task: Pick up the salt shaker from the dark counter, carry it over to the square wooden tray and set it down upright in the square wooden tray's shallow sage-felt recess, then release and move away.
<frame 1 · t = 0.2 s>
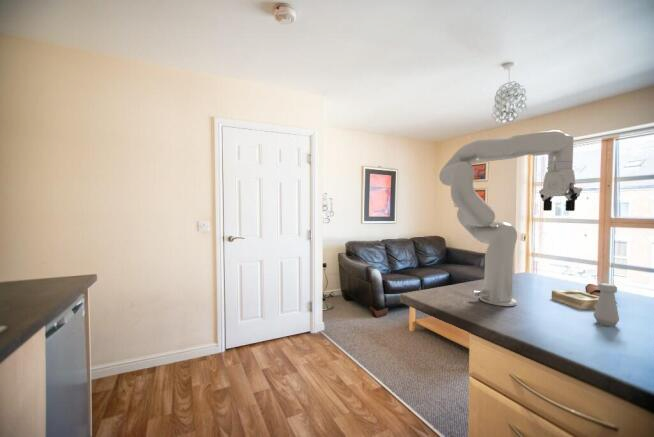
hand: (558, 210, 111), 36 cm above the worktop, tool pointing down, fingers open, 9 cm apart
salt shaker: (605, 324, 90), on the worktop
square wooden tray: (579, 303, 109), on the worktop
sunglasses case: (600, 298, 115), on the worktop, touching square wooden tray
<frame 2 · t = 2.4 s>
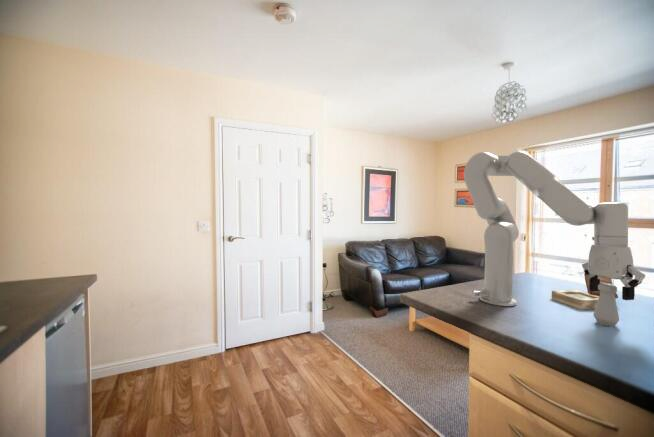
hand: (610, 295, 89), 10 cm above the worktop, tool pointing down, fingers open, 9 cm apart
sunglasses case: (601, 288, 115), point 5 cm above the worktop, touching square wooden tray
everything else where it was.
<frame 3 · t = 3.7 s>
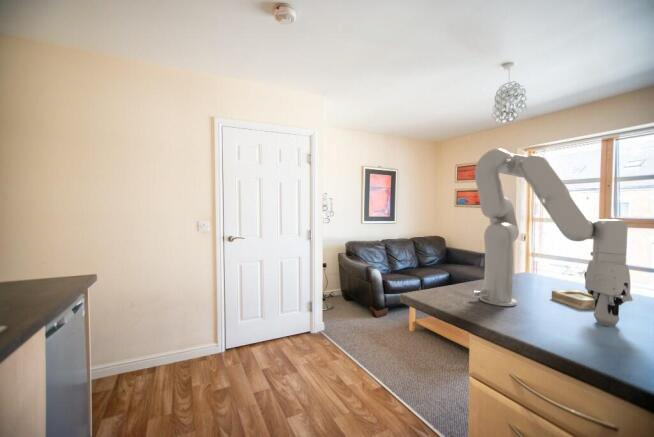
hand: (606, 314, 90), 3 cm above the worktop, tool pointing down, fingers closed on salt shaker, 3 cm apart
salt shaker: (605, 324, 90), on the worktop, touching gripper
everything else where it was.
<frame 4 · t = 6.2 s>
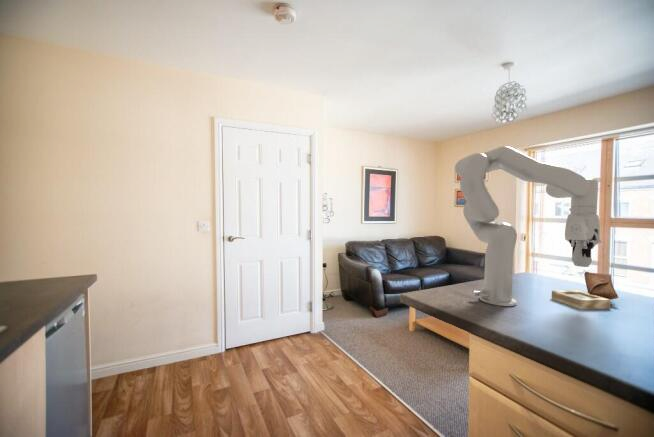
hand: (581, 257, 109), 18 cm above the worktop, tool pointing down, fingers closed on salt shaker, 3 cm apart
salt shaker: (581, 266, 109), point 15 cm above the worktop, touching gripper
everything else where it was.
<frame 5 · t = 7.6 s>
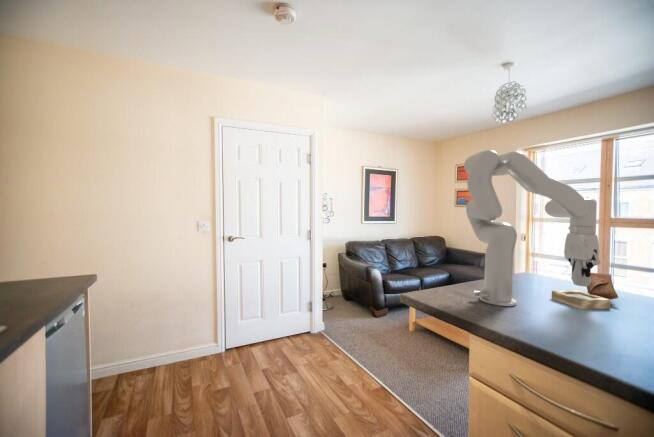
hand: (580, 276, 109), 10 cm above the worktop, tool pointing down, fingers closed on salt shaker, 3 cm apart
salt shaker: (580, 285, 109), point 7 cm above the worktop, touching gripper
everything else where it was.
when the fingers open (7 cm above the worktop, at t = 8.6 s): salt shaker stays where it is, resting on square wooden tray.
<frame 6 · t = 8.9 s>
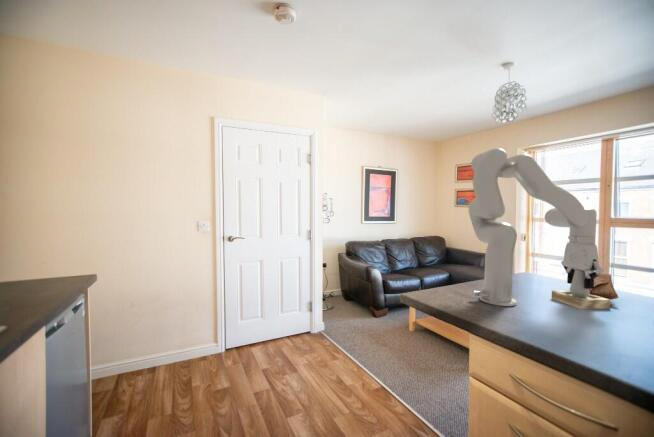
hand: (580, 285, 109), 7 cm above the worktop, tool pointing down, fingers open, 6 cm apart
salt shaker: (579, 297, 109), point 2 cm above the worktop, touching square wooden tray
everything else where it was.
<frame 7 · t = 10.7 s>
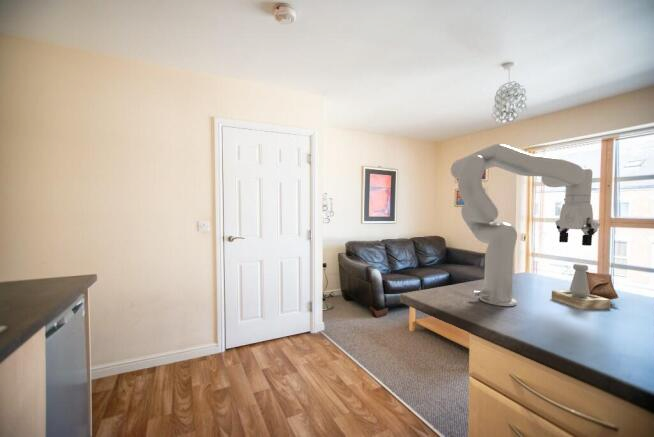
hand: (574, 243, 110), 23 cm above the worktop, tool pointing down, fingers open, 9 cm apart
nothing on the worktop moved.
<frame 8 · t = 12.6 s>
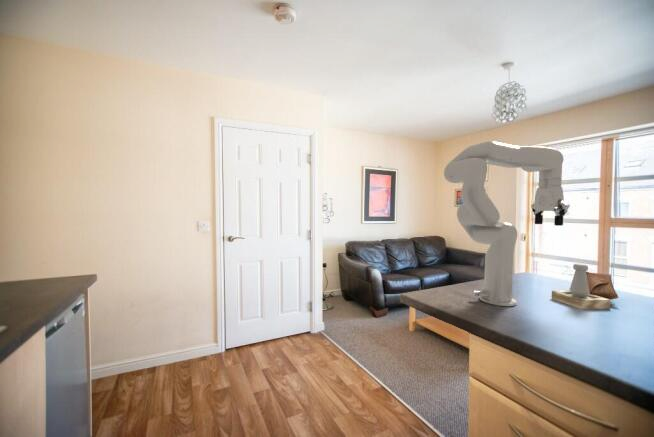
hand: (548, 224, 118), 30 cm above the worktop, tool pointing down, fingers open, 9 cm apart
nothing on the worktop moved.
at the end: salt shaker 0.1 cm off-centre on the square wooden tray, point 2.3 cm above the square wooden tray's base; salt shaker tilted 0°; the gripper is holding nothing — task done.
